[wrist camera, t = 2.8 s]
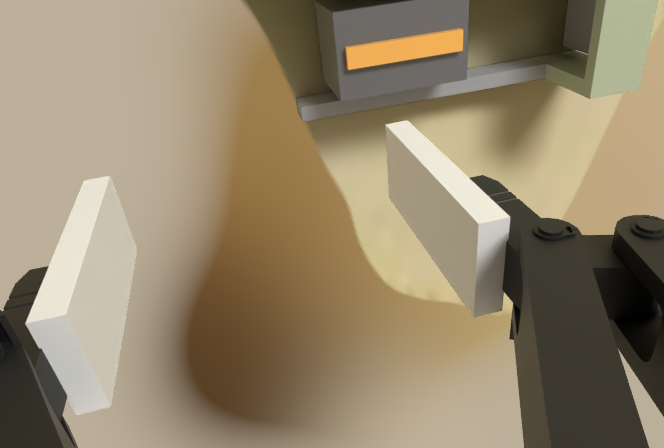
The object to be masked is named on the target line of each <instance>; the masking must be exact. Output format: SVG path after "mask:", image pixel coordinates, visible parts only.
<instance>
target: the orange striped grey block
mask: <svg viewBox="0 0 664 448" xmlns="http://www.w3.org/2000/svg"><path fill="white" fill-rule="evenodd" d="M315 10H316V19H317V28H318V37H319V46H320V55H321V64H322V72H323V80H324V81H325V83H326V84H327V85H328V86H329V87H330V89H331V90H332V91H333V92H334V94H335V95H336V96H337V97H338V99H339V100H340V101H341V102H343V101H348V100H354V99H360V98H365V97H371V96H377V95H382V94H388V93H394V92H399V91H405V90H411V89H416V88H422V87H428V86H433V85H439V84H445V83H450V82H456V81H461V80H467V55H468V25H469V0H315Z"/></svg>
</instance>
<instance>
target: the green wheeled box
mask: <svg viewBox="0 0 664 448" xmlns="http://www.w3.org/2000/svg"><path fill="white" fill-rule="evenodd" d="M657 4H658V0H568V6H567V14H566V22H565V29H564V37H563V46H566V47H569V48H572V49H575V50H578V51H581V52H584V53H586V54H584V53H581V52H578V51H575V50H572V51H566V52H560V53H554V54H549V55H543V56H537V57H531V58H526V59H520V60H514V61H508V62H503V63H497V64H491V65H485V66H480V67H474V68H468V69H467V80H461V81H456V82H450V83H445V84H439V85H433V86H428V87H422V88H416V89H411V90H405V91H399V92H394V93H388V94H382V95H377V96H371V97H365V98H360V99H354V100H348V101H343V102H341V101H340V100H339V99H338V97H337V96H336V95H335V94H334V92H330V93H324V94H319V95H313V96H307V97H301V98H296V103H297V110H298V113H299V115H300V117H301V119H302V121H303V122H306V121H311V120H317V119H322V118H328V117H333V116H339V115H344V114H350V113H355V112H361V111H367V110H372V109H378V108H383V107H389V106H394V105H400V104H405V103H411V102H416V101H422V100H427V99H433V98H438V97H444V96H450V95H455V94H461V93H466V92H472V91H477V90H483V89H488V88H494V87H499V86H505V85H510V84H516V83H521V82H527V81H533V80H538V79H544V78H545V79H547V80H549V81H552V82H554V83H556V84H558V85H560V86H563V87H565V88H567V89H569V90H571V91H574V92H576V93H578V94H580V95H582V96H585V97H587V98H589V99H592V98H597V97H603V96H608V95H613V94H618V93H624V92H629V91H634V90H639V88H640V84H641V79H642V75H643V69H644V65H645V60H646V55H647V51H648V46H649V42H650V37H651V32H652V27H653V23H654V18H655V13H656V8H657ZM587 54H588V55H587Z"/></svg>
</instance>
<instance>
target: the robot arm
mask: <svg viewBox="0 0 664 448" xmlns="http://www.w3.org/2000/svg"><path fill="white" fill-rule="evenodd" d="M385 127H386V146H387V165H388V184H389V198H390V199H391V201H392V202H393V204H394V205H395V207H396V208H397V209H398V211H399V212H400V214H401V215H402V216H403V218H404V219H405V221H406V222H407V224H408V225H409V226H410V228H411V229H412V231H413V232H414V233H415V235H416V236H417V238H418V239H419V241H420V242H421V243H422V245H423V246H424V248H425V249H426V250H427V252H428V253H429V255H430V256H431V258H432V259H433V260H434V262H435V263H436V265H437V266H438V267H439V269H440V270H441V272H442V273H443V275H444V276H445V277H446V279H447V280H448V282H449V283H450V284H451V286H452V287H453V289H454V290H455V292H456V293H457V294H458V296H459V297H460V299H461V300H462V301H463V303H464V304H465V306H466V307H467V309H468V310H469V311H470V313H471V314H472V316H473V317H477V316H481V315H486V314H490V313H494V312H498V311H502V306H503V294H504V292H505V293H506V295H507V296H508V297H509V298H510V299H511V301H512V302H513V310H512V319H511V329H510V339H512V340H514V344H515V354H516V364H517V365H516V366H517V376H518V387H519V397H520V408H521V418H522V428H523V439H524V448H649V446H648V443H647V440H646V436H645V433H644V430H643V427H642V424H641V421H640V418H639V414H638V411H637V408H636V405H635V402H634V399H633V395H632V392H631V389H630V386H629V383H628V379H627V376H626V373H625V370H624V367H623V364H622V361H621V357H620V354H619V351H618V349H619V350H620V352H621V354H622V355H623V356H624V358H625V359H626V361H627V363H628V364H629V365H630V367H631V369H632V370H633V372H634V373H635V375H636V376H637V377H638V379H639V380H640V382H641V383H642V385H643V386H644V388H645V389H646V391H647V392H648V393H649V395H650V397H651V398H652V400H653V401H654V403H655V404H656V406H657V407H658V409H659V410H660V412H661V413H662V415H663V416H664V220H663V219H661V218H658V217H654V216H649V215H633V216H628V217H624V218H622V219H620V220H619V221H617V224H616V227H615V232H614V235H582V234H581V232H580V231H579V230H578V228H577V227H575V226H574V225H572V224H570V223H568V222H565V221H562V220H559V219H552V218H540V217H539V216H538V215H537V214H536V213H534V212H533V211H532V210H531V209H530V208H529V207H527V206H526V205H525V204H524V203H523V202H522V201H520V200H519V199H517V198H516V196H515V195H513V194H512V193H511V192H508V189H506V188H505V187H504V186H503V185H502V184H501V183H500V182H498V181H496V180H493V179H491V178H488V177H486V176H484V175H481V176H476V177H472V178H468V177H467V176H466V175H465V174H464V173H463V172H462V171H461V170H460V169H459V168H458V167H457V166H456V165H455V164H454V163H452V162H451V161H450V160H449V159H448V158H447V157H446V156H445V155H444V154H443V153H442V152H441V151H440V150H439V149H438V148H436V147H435V146H434V145H433V144H432V143H431V142H430V141H429V140H428V139H427V138H426V137H425V136H424V135H423V134H422V133H420V132H419V131H418V130H417V129H416V128H415V127H414V126H413V125H412V124H411V123H410V122H409V121H408V120H407V121H401V122H396V123H390V124H385ZM136 254H137V248H136V245H135V242H134V240H133V237H132V234H131V231H130V229H129V226H128V223H127V220H126V218H125V215H124V212H123V210H122V207H121V204H120V201H119V198H118V196H117V193H116V190H115V187H114V185H113V182H112V179H111V177H110V176H106V177H101V178H95V179H90V180H85V181H84V182H83V185H82V187H81V190H80V192H79V195H78V197H77V200H76V202H75V204H74V207H73V209H72V212H71V214H70V216H69V219H68V221H67V224H66V226H65V229H64V231H63V233H62V236H61V238H60V241H59V243H58V245H57V248H56V250H55V253H54V255H53V258H52V260H51V262H50V265H49V266H47V267H42V268H37V269H32V270H29V271H28V272H27V273H26V274H25V275H24V276H23V277H22V278H21V279H20V280H19V281H18V282H17V283H16V284H15V286H14V288H13V290H12V292H11V294H10V296H9V300H8V301H7V302H6V304H5V306H4V311H1V310H0V448H78V447H77V444H76V442H75V440H74V437H73V435H72V433H71V430H70V428H69V426H68V425H67V423H66V421H65V419H64V417H63V416H62V414H63V411H64V406H65V402H66V399H67V400H68V402H69V404H70V406H71V407H72V409H73V411H74V413H75V415H80V414H84V413H88V412H92V411H96V410H100V409H104V408H108V407H111V405H112V398H113V393H114V387H115V380H116V375H117V369H118V363H119V356H120V350H121V344H122V338H123V332H124V326H125V319H126V314H127V308H128V302H129V296H130V290H131V283H132V278H133V272H134V266H135V260H136Z"/></svg>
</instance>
